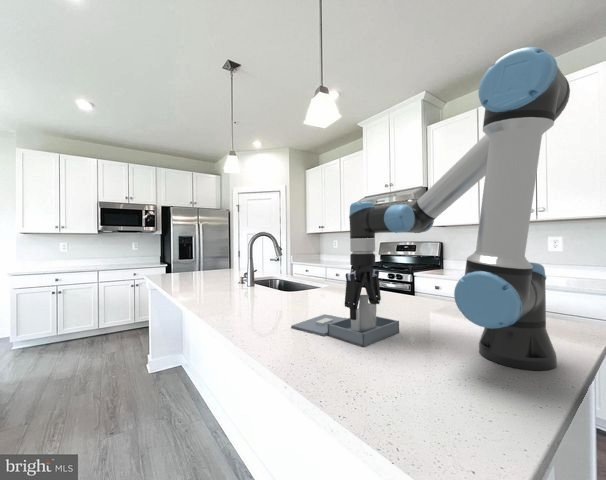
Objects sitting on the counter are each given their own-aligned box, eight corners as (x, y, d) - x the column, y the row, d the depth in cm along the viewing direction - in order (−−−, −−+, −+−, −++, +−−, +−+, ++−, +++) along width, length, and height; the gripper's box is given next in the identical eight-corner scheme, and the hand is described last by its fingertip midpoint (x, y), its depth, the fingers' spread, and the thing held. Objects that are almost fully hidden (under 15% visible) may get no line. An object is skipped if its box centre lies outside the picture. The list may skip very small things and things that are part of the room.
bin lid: (355, 322, 103) (355, 317, 103) (324, 336, 89) (324, 331, 89) (324, 316, 112) (324, 312, 112) (291, 328, 98) (291, 323, 98)
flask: (374, 325, 94) (374, 293, 94) (378, 332, 86) (377, 297, 86) (351, 324, 94) (351, 293, 94) (353, 331, 87) (352, 297, 87)
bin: (399, 332, 91) (399, 321, 91) (363, 347, 79) (362, 334, 79) (364, 323, 101) (364, 313, 101) (327, 335, 89) (327, 324, 89)
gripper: (372, 251, 100) (373, 318, 100) (330, 254, 86) (332, 331, 86) (391, 251, 94) (393, 323, 94) (350, 254, 81) (352, 337, 81)
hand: (363, 327), depth 90 cm, fingers closed on flask, 8 cm apart
